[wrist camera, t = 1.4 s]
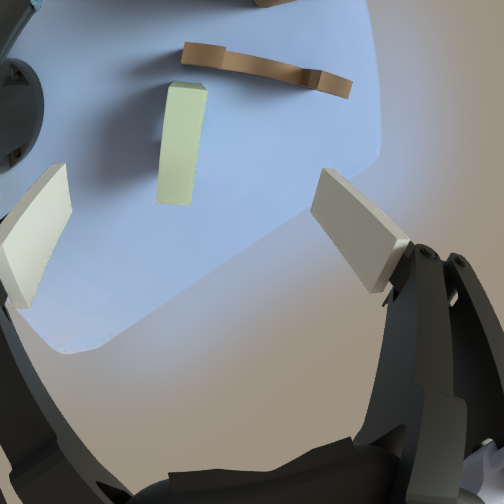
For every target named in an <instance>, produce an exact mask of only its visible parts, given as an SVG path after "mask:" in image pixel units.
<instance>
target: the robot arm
mask: <svg viewBox="0 0 504 504" xmlns="http://www.w3.org/2000/svg"><path fill="white" fill-rule="evenodd" d="M42 2H43V0H0V174H2V173H4V172H6V171H8V170H10V169H11V168H13V167H14V166H15V165H17V164H18V163H19V162H20V161H22V160H23V159H24V158H25V157H26V156H27V155H28V153H29V152H30V151H31V149H32V148H33V146H34V144H35V142H36V140H37V138H38V135H39V133H40V129H41V126H42V121H43V114H44V98H43V91H42V87H41V84H40V81H39V79H38V76H37V75H36V73H35V72H34V70H33V69H32V68H31V67H30V66H29V65H28V64H27V63H25V62H24V61H21V60H19V59H15V58H7V59H5V58H6V56H7V55H8V53H9V51H10V49H11V48H12V46H13V44H14V43H15V41H16V39H17V38H18V36H19V35H20V33H21V31H22V30H23V28H24V27H25V26H26V24H27V23H28V21H29V20H30V18H31V17H32V16H33V14H34V13H35V12H37V11H38V10H39V9H40V7H41V3H42ZM71 214H72V207H71V201H70V195H69V188H68V180H67V172H66V163H57V164H52V165H51V166H50V167H49V168H48V169H47V170H46V171H45V172H44V173H43V174H42V175H41V176H40V177H39V178H38V180H37V181H36V182H35V183H34V184H33V185H32V186H31V187H30V188H29V190H28V191H27V192H26V193H25V194H24V195H23V196H22V198H21V199H20V200H19V201H18V202H17V204H16V205H15V206H14V207H13V209H12V210H11V211H10V212H9V213H8V214H7V215H6V216H4V217H3V218H2V219H1V220H0V445H1V447H2V449H3V450H4V452H5V454H6V456H7V458H8V460H9V462H10V464H11V466H12V471H11V472H10V474H9V478H10V482H11V484H12V486H13V488H14V490H15V492H16V494H17V495H18V497H19V498H20V500H21V501H22V503H23V504H504V332H503V330H502V327H501V325H500V323H499V320H498V318H497V316H496V314H495V312H494V309H493V307H492V305H491V304H490V301H489V299H488V297H487V295H486V293H485V291H484V289H483V287H482V285H481V283H480V281H479V280H478V278H477V276H476V274H475V272H474V270H473V269H472V267H471V265H470V264H469V262H468V261H467V260H466V259H465V258H464V257H463V256H462V255H458V254H456V253H451V254H450V255H449V257H448V259H447V261H442V260H440V257H439V256H438V254H437V253H436V252H435V251H434V250H433V249H432V248H430V247H428V246H426V245H423V244H416V245H414V244H413V243H412V242H411V241H410V239H409V238H408V237H407V236H406V235H405V233H404V232H403V231H402V230H401V229H400V228H399V227H398V226H396V224H395V223H393V222H392V221H391V220H390V219H389V218H388V217H387V216H386V215H385V214H384V213H383V212H382V211H381V210H380V209H379V208H378V207H377V206H376V205H374V204H373V203H372V202H371V201H370V200H369V199H368V198H367V197H366V196H365V195H363V194H362V193H361V192H360V191H359V190H358V189H357V188H356V187H354V186H353V185H352V184H351V183H350V182H349V181H348V180H346V179H345V178H344V177H343V176H342V175H340V174H339V173H338V172H337V171H336V170H334V169H328V168H322V171H321V175H320V179H319V182H318V186H317V190H316V193H315V197H314V200H313V204H312V207H311V214H312V215H313V216H314V217H315V219H316V220H317V221H318V223H319V224H320V225H321V227H322V228H323V229H324V231H325V232H326V233H327V235H328V236H329V237H330V238H331V240H332V241H333V243H334V244H335V245H336V247H337V248H338V249H339V251H340V252H341V254H342V255H343V256H344V258H345V259H346V261H347V262H348V263H349V265H350V266H351V267H352V269H353V270H354V272H355V273H356V274H357V276H358V277H359V279H360V280H361V282H362V283H363V285H364V286H365V288H366V289H367V290H368V292H369V293H370V294H371V293H378V292H383V290H384V289H385V287H386V285H387V283H388V282H389V281H390V283H391V284H392V285H393V287H392V289H391V291H390V293H389V294H388V296H387V298H386V299H385V301H384V303H383V304H382V306H383V307H384V306H385V304H387V303H388V307H387V315H386V323H385V329H384V335H383V342H382V347H381V352H380V358H379V363H378V368H377V372H376V377H375V382H374V386H373V390H372V394H371V398H370V402H369V406H368V410H367V413H366V417H365V421H364V424H363V426H362V428H361V430H360V431H359V432H358V434H357V435H356V436H355V438H354V440H353V442H352V439H351V437H347V438H344V439H342V440H339V441H336V442H333V443H331V444H327V445H324V446H321V447H317V448H314V449H312V450H310V451H308V452H306V453H305V454H303V455H301V456H299V457H298V458H296V459H294V460H292V461H290V462H289V463H287V464H285V465H283V466H281V467H279V468H277V469H275V470H273V471H268V472H257V471H256V472H255V471H237V470H224V469H211V470H202V471H190V472H172V473H171V472H170V473H168V475H169V479H166V480H162V481H159V482H157V483H154V484H152V485H150V486H148V487H146V488H145V489H142V490H141V491H140V492H138V493H137V494H136V495H133V494H132V493H131V492H130V491H129V490H128V489H127V488H126V487H125V486H124V485H123V484H122V483H121V482H120V481H119V480H118V479H117V478H116V477H114V476H113V475H112V474H111V473H110V472H109V471H108V470H107V469H105V468H104V467H103V466H102V465H101V464H100V463H99V462H98V461H97V459H96V458H95V457H94V456H93V455H92V454H91V452H90V451H89V450H88V449H87V447H86V446H85V445H84V444H83V442H82V441H81V440H80V439H79V437H78V436H77V435H76V433H75V432H74V431H73V429H72V428H71V427H70V425H69V424H68V422H67V421H66V419H65V418H64V417H63V415H62V414H61V412H60V411H59V409H58V408H57V406H56V405H55V403H54V401H53V400H52V398H51V397H50V395H49V393H48V392H47V390H46V388H45V387H44V385H43V384H42V382H41V380H40V378H39V376H38V374H37V373H36V371H35V369H34V367H33V365H32V363H31V361H30V359H29V357H28V355H27V353H26V352H25V350H24V347H23V345H22V343H21V341H20V339H19V336H18V334H17V332H16V330H15V327H14V325H13V323H12V320H11V318H10V315H9V313H8V310H7V309H6V307H5V305H4V304H5V302H6V299H7V297H8V298H9V300H10V302H11V304H12V306H13V308H20V309H30V306H31V303H32V300H33V298H34V295H35V292H36V290H37V287H38V284H39V282H40V279H41V277H42V275H43V272H44V270H45V267H46V265H47V263H48V261H49V258H50V256H51V254H52V252H53V250H54V247H55V245H56V243H57V241H58V239H59V237H60V235H61V233H62V231H63V229H64V227H65V225H66V223H67V221H68V219H69V218H70V216H71ZM457 292H458V299H457V301H456V302H455V304H454V305H453V306H451V304H450V302H451V300H452V299H453V297H454V296H455V294H456V293H457ZM491 439H492V440H493V441H491ZM0 504H7V503H6V500H5V498H4V496H3V493H2V491H1V489H0Z"/></svg>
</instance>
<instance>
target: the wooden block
mask: <svg viewBox="0 0 504 504" xmlns="http://www.w3.org/2000/svg"><path fill="white" fill-rule="evenodd" d="M292 1H296V0H254V2H255V4H257V5H258V6H259V7H261V8H268V7H272V6H275V5H279V4H283V3H287V2H292Z"/></svg>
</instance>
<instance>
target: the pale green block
mask: <svg viewBox="0 0 504 504" xmlns="http://www.w3.org/2000/svg"><path fill="white" fill-rule="evenodd" d="M207 95H208V90H207V89H206V88H205V87H204V86H203V85H202V84H201V83H193V82H182V81H174V82H173V83H172V84H171V85H170V86H169V89H168V95H167V102H166V109H165V116H164V124H163V132H162V141H161V151H160V161H159V173H158V187H157V204H174V205H191V198H192V190H193V182H194V175H195V167H196V160H197V154H198V147H199V141H200V134H201V128H202V122H203V117H204V111H205V105H206V100H207Z"/></svg>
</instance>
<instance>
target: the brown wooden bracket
mask: <svg viewBox="0 0 504 504" xmlns="http://www.w3.org/2000/svg"><path fill="white" fill-rule="evenodd" d="M225 50H226V47H223V46H216V45H209V44H200V43H191V42H185V44H184V48H183V53H182V58H181V65H190V66H200V67H208V68H216V69H223V70H229V71H236V72H241V73H247V74H252V75H257V76H262V77H267V78H271V79H276V80H280V81H284V82H288V83H292V84H296V85H300V86H303V87H307V88H310V89H314V90H318V91H321V92H325V93H328V94H332V95H335V96H339V97H342V98H345V99H348V97H349V93H350V90H351V86H352V83H353V81H350V80H348V79H345V78H342V77H339V76H337V75H334V74H331V73H328V72H325V71H322V70H313V69H303V68H300V67H297V66H293V65H289V64H285V63H282V62H278V61H273V60H269V59H265V58H260V57H256V56H251V55H246V54H240V53H235V52H229V51H225Z"/></svg>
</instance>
